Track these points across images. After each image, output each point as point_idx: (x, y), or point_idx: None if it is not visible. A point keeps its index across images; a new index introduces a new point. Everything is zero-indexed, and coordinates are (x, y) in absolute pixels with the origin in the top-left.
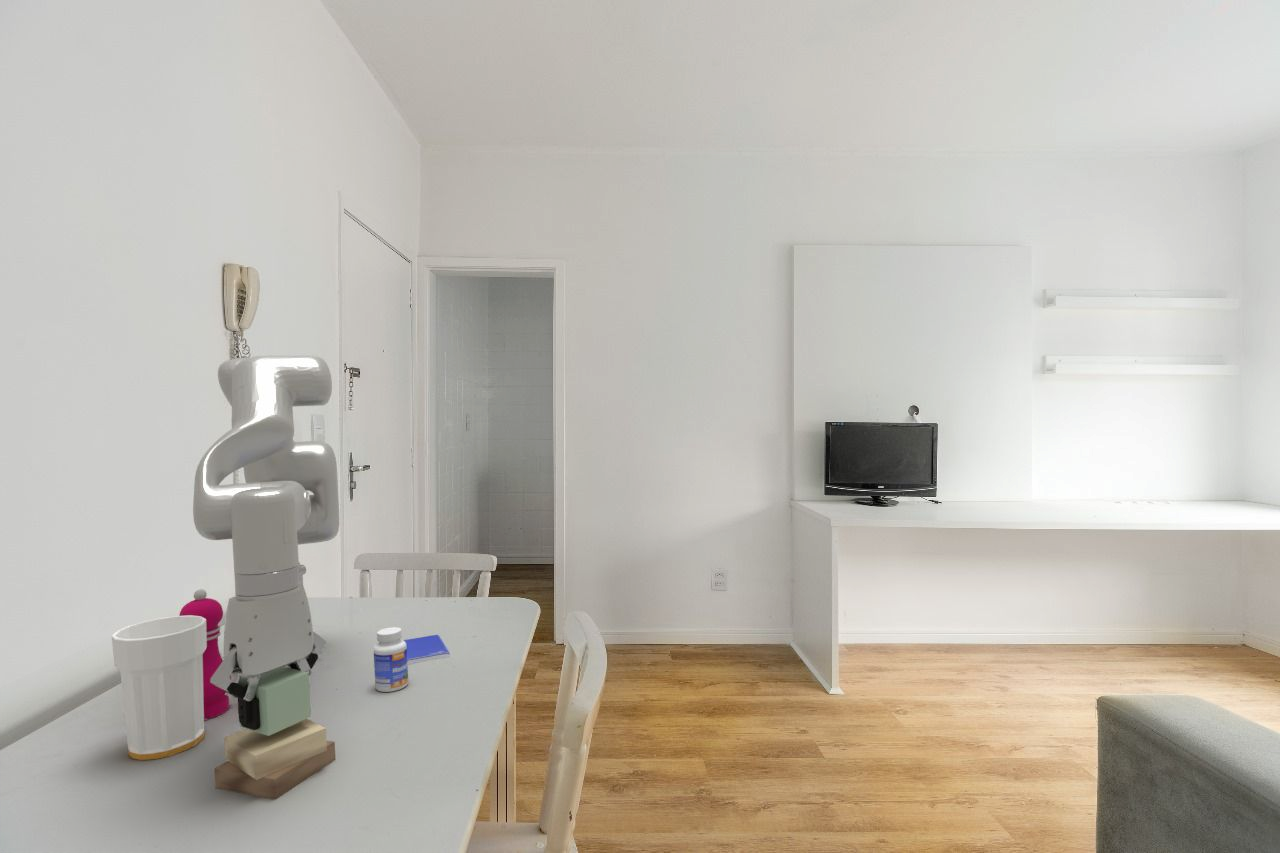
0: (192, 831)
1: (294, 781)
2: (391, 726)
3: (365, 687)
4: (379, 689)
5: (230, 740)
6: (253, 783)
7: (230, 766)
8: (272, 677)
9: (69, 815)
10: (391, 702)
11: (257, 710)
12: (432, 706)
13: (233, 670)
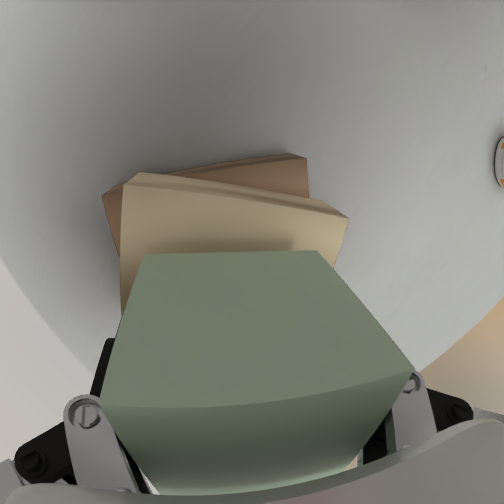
0: (46, 294)
1: None
2: (414, 280)
3: (498, 116)
4: (497, 157)
5: (121, 231)
6: None
7: None
8: (255, 466)
9: None
10: (474, 206)
11: None
12: (463, 278)
13: (56, 497)
